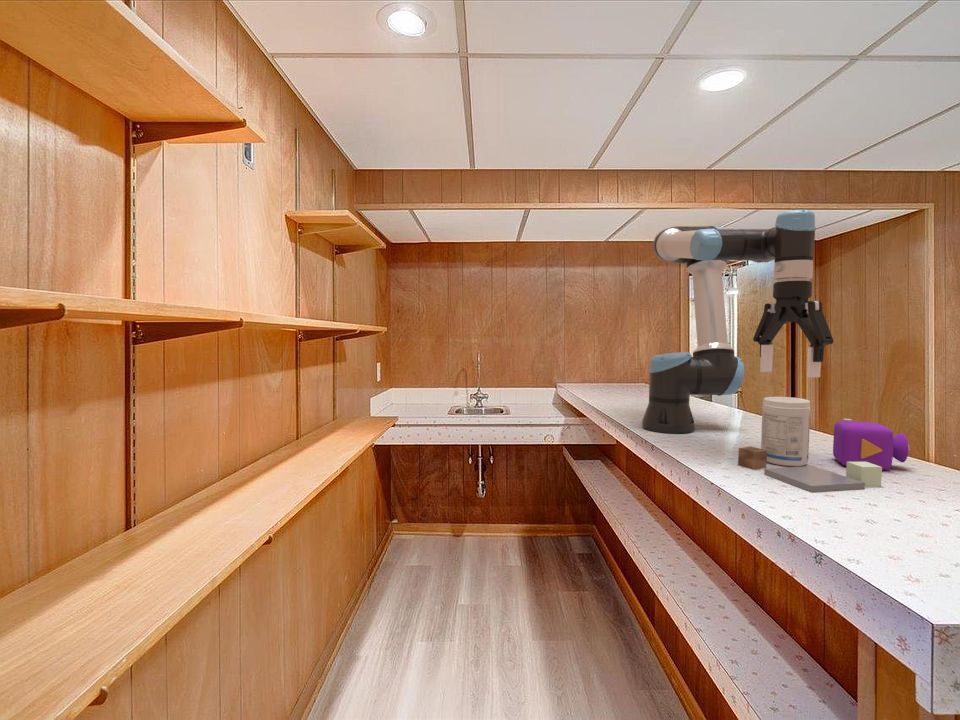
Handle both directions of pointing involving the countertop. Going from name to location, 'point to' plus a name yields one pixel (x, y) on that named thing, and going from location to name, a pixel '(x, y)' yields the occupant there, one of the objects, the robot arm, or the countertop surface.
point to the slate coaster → (814, 479)
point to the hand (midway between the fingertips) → (788, 374)
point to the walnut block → (752, 457)
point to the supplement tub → (786, 430)
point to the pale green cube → (865, 473)
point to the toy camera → (868, 443)
